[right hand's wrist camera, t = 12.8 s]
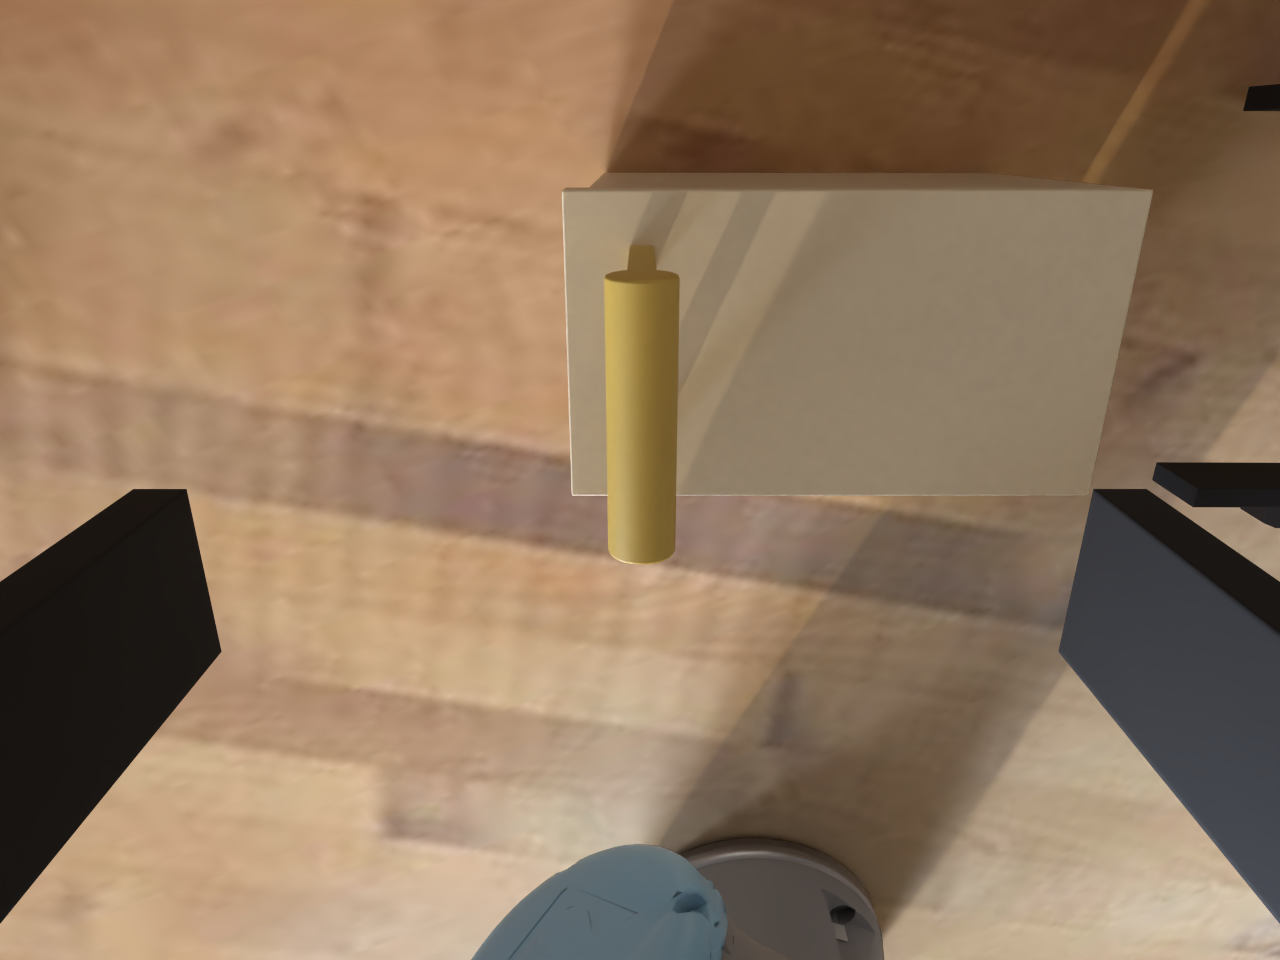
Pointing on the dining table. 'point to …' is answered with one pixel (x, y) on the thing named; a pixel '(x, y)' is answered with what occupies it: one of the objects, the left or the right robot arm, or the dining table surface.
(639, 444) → the lid
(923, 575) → the dining table surface
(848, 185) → the chest
